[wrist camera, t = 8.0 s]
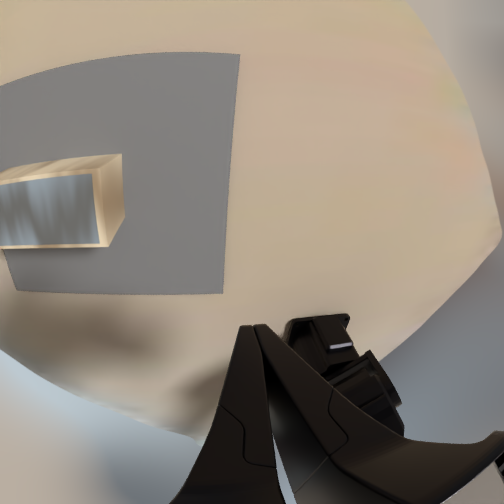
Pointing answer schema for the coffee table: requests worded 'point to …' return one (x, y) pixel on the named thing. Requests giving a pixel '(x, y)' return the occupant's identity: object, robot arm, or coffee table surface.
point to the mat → (133, 167)
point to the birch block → (62, 203)
